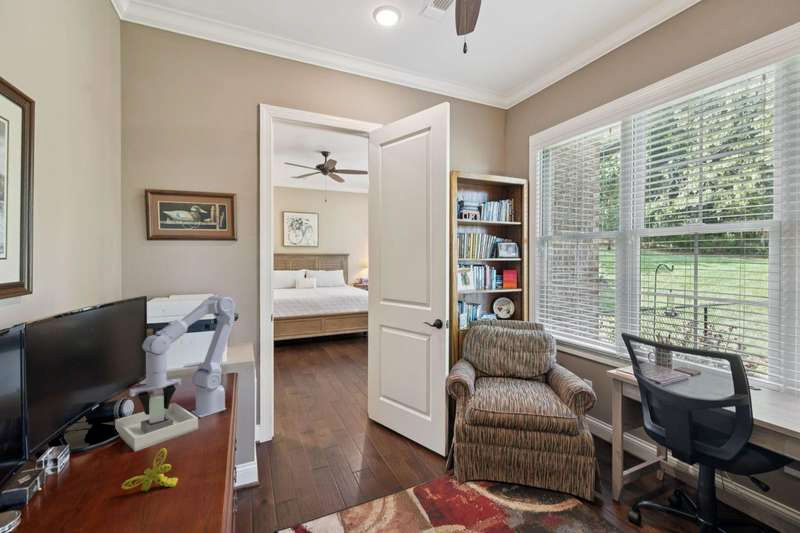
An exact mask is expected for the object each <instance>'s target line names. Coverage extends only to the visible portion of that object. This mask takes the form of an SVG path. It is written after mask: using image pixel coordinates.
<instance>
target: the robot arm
mask: <svg viewBox="0 0 800 533" xmlns="http://www.w3.org/2000/svg"><path fill="white" fill-rule="evenodd" d="M235 310H236V303H235V301H234V300H233V299H232V298H231V297H230V296H218V295H210V296H209V297H208V298H207V299H204V300H203V301H202V302H201V303H200V304H199V305H198V306H197V307H196V308H194V309H193V310H192V311H191V312H189V313H188V314H187V315H186V316H183V317H182V319H181V320H179V319H178V320H177V319H175V320H174V321H173V320H170V321H169V322H168V323H167V324H168V325H166V326H165V327H163V328H162V329H161V330H157V331H156V332H155V334H153V335H150V336H147V337H146V338H145V339H144V341H143V343H142V345H141V347H142V348H141V349H143V350H144V351H145V384H144V385H141V386H137V387H134V388H131V389H129V397H135V396H137V397H138V400H139V401H140V403H141V405H142V408H143V412H145V414H146V415H148V414H149V400H150V395H149V392H153V391H157V390H162V392H163V393H164V408H165V409H168V408H169V404H171V400H172V398H173V396H174V393H175V392H176V390H177V389H176V388H177V387H176V386H180V385H182V379H181V378H180V377H177V378H171V379H167V378H168V377H167V374H168V373H167V371H168V370H167V352H168V350H169V349H170V347H171V345H172V344H173V343H174V342H176V341H177V340H179V338H181V337H182V336H183V335H185V334H187V332H188V328H189V327H190V326H191V325H193V324H195V323H196V322H197V321H199V320H201V319H202V318H204V317H205V316H207V315H214V316H215V318H216V320H217V324H216V327H215V330H214V333H213V336H212V339H211V341H210V344H209V347H208V350H207V352H206V355H205V358H204V360H203V361H202V362H201V363H200V364H199V365H198V366H197V369H196V370H195V372H194V373H193V374H192V377H191V382H192V385H195V409H193V410H191V413H192V414H193V415H195V416H196V417H198V418H201V419H202V418H205V417H208V416H210V415H214V414H216V413H221V412H222V411H225V410H227V408H226V391H225V389H224V386H223V385H221V382H222V372H223V370H222V368H221V365H220V364H221V361H222V357H223V355H224V352H225V350H226V346H227V343H228V341H229V338H230V334H231V331H232V329H233V326H234V322H235Z"/></svg>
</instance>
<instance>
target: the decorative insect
mask: <svg viewBox="0 0 800 533" xmlns="http://www.w3.org/2000/svg"><path fill="white" fill-rule="evenodd" d="M167 452H168V451H167V449H166V448H161V449H159V451H157V453H156V454H155V457H154V460H153V462H152V469H150V468H149V467H148V468H146V469H145V470H144V471H143V474H145V475H139V476H134V477H132V478H129V479H126V480H125V481H124V482H123V483H122V484H121V489H122V490H130V489H134V488H136V487H138V486H139V485H141V484H142V485H141V488H140V489H141V491H142V492H143V491H144V492H148V490H150V488H151V486H152V481H154V482H155V484H160V486H164V487H169V488H175V487H176V485H177V483H178V482H179V478H178V477H172V478H171V477H168V476H165V475H164V474H165V472H169V471H170V470H171V468H172V465H171V464H170V463H164V461H165V460H166V457H167ZM163 454H164V455H163ZM158 455H159V456H158ZM162 455H163V457H162ZM157 459H160V460H158V461H157ZM159 462H160V464H159ZM163 463H164V464H163ZM157 465H158V466H157ZM133 481H135V482H134V484H133Z"/></svg>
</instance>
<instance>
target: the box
mask: <svg viewBox="0 0 800 533" xmlns="http://www.w3.org/2000/svg"><path fill="white" fill-rule="evenodd" d="M114 422H115V425H114V427H115V429H116V430H117V432H118V433H119V435H120V436H119V435H118V436H119V437H120V438H121V439H122V440H123V441H124V442H125V443H126V444H127V445H128V446H129V448H130V449H132V451H133V452H138V451H141V450H144V449H146V448H149V447H152V446H154V445H158V444H159V443H160V444H161V443H163V442H165V441H169V440H171V439H175V438H178V437H180V436H182V435H185V434H188V433H192V432H194V431H196V430H198V429H199V417H198V416H197V415H195V414H193V413H192V412H190V411H188V410H187V409H185V408H184V407H182V406H180V405H179V404H177V403H176V402H173V403H169V408H168V409H165V408H164V420H163V421H159V422H154V423H150V422H149V414H148V415H146V414H145V412H144V411H142V412H138V413H134V414H131V415H128V416H124V417H120V418H117V419H115V420H114ZM115 429H114V430H115Z"/></svg>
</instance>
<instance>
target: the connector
mask: <svg viewBox="0 0 800 533" xmlns="http://www.w3.org/2000/svg"><path fill="white" fill-rule="evenodd" d="M149 396H150V400H149V422H150V423H154V422H159V421H163V420H164V393H157V394H152V395H151V394H150V395H149Z"/></svg>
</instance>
